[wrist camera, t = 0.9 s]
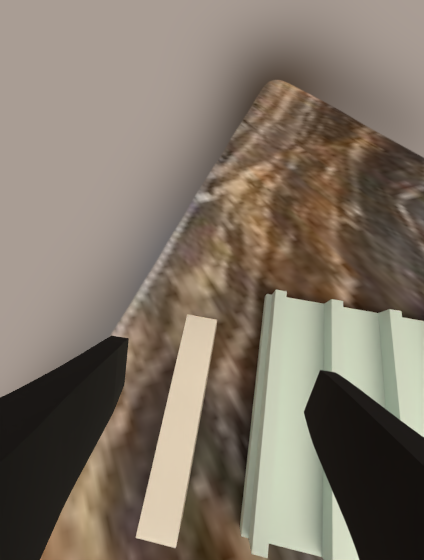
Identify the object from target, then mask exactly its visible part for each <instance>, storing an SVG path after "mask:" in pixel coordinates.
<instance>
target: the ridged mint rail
mask: <svg viewBox="0 0 424 560" xmlns="http://www.w3.org/2000/svg"><path fill="white" fill-rule="evenodd" d="M286 296H287V291H281V290H275V291H274V293H273V294H272V295H271V294H266V296H265V299H264V309H263V318H262V327H261V336H260V345H259V355H258V364H257V373H256V382H255V392H254V401H253V410H252V419H251V428H250V438H249V447H248V456H247V465H246V474H245V484H244V493H243V502H242V511H241V520H240V532H241V536H242V537H246V538H248V539H249V543H250V548H251V553H252V554H254V555H257V556H261V557H265V558H268V546H269V544H273V545H277V546H281V547H285V548H289V549H293V550H297V551H300V552H304V553H308V554H312V555H316V556H320V557H322V558H323V559H324V560H359V558H358V555H357V552H356V549H355V546H354V543H353V540H352V538H351V535H350V533H349V530H348V527H347V525H346V522H345V520H344V517H343V515H342V513H341V510H340V508H339V506H338V503H337V501H336V498H335V496H334V494H333V491H332V489H331V487H330V484H329V482H328V479H327V477H326V475H325V472H324V470H323V467H322V465H321V463H320V460H319V458H318V455H317V453H316V450H315V448H314V445H313V443H312V440H311V437H310V433H309V430H308V427H307V423H306V419H305V415H304V410H305V407H306V405H307V402H308V399H309V397H310V394H311V392H312V389H313V387H314V384H315V382H316V379H317V377H318V374H319V371H320V370H324V371H330V372H336V373H337V374H339V375H341V376H342V377H344V378H345V379H346V380H348V381H349V382H351V383H352V384H353V385H355V386H356V387H357V388H359V389H360V390H361V391H363V392H364V393H365V394H367V395H368V396H369V397H371V398H372V399H373V400H375V401H376V402H377V403H378V404H380V405H381V406H382V407H384V408H385V409H386V410H388V411H389V412H390V413H392V414H393V415H394V416H396V417H397V418H398V419H400V420H401V421H402V422H404V423H405V424H406V425H408V426H409V427H410V428H412V429H413V430H414V431H416V432H417V433H418V434H420V435H421V436H423V437H424V321H421V320H415V319H409V318H403V317H402V312H401V311H398V310H392V309H388V310H386V311H383V312H380V313H375V312H369V311H363V310H357V309H352V308H346V307H343V301H340V300H334V299H331V300H329V301H328V302H326V303H325V304H323V303H317V302H311V301H306V300H300V299H294V298H288V297H286Z"/></svg>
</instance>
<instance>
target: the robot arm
mask: <svg viewBox="0 0 424 560" xmlns="http://www.w3.org/2000/svg"><path fill="white" fill-rule="evenodd" d="M128 340H129V339H128V338H122V337H116V336H110V337H109V338H107V339H105V340H104V341H102V342H100V343H99V344H97V345H95V346H94V347H92V348H90V349H89V350H87V351H85V352H84V353H82V354H81V355H79V356H77V357H75V358H74V359H72V360H70V361H69V362H67V363H65V364H64V365H62V366H60V367H58V368H56V369H55V370H53V371H51V372H49V373H47V374H45V375H43V376H42V377H40V378H38V379H36V380H34V381H32V382H30V383H29V384H27V385H25V386H23V387H21V388H19V389H17V390H15V391H13V392H11V393H9V394H7V395H5V396H3V397H1V398H0V560H40V558H41V556H42V554H43V551H44V549H45V547H46V545H47V542H48V540H49V538H50V536H51V533H52V531H53V529H54V527H55V524H56V522H57V520H58V518H59V515H60V513H61V511H62V509H63V507H64V505H65V503H66V501H67V499H68V497H69V495H70V493H71V491H72V489H73V487H74V485H75V483H76V481H77V479H78V477H79V476H80V474H81V472H82V470H83V468H84V466H85V464H86V463H87V461H88V459H89V457H90V455H91V453H92V451H93V449H94V448H95V446H96V444H97V442H98V440H99V438H100V436H101V435H102V433H103V431H104V429H105V427H106V425H107V423H108V421H109V419H110V417H111V416H112V414H113V411H114V409H115V407H116V404H117V402H118V399H119V397H120V394H121V392H122V389H123V387H124V382H125V371H126V361H127V350H128ZM304 415H305V419H306V423H307V427H308V430H309V433H310V437H311V440H312V443H313V445H314V448H315V450H316V453H317V455H318V458H319V460H320V463H321V465H322V467H323V470H324V472H325V475H326V477H327V479H328V482H329V484H330V487H331V489H332V491H333V494H334V496H335V498H336V501H337V503H338V506H339V508H340V510H341V513H342V515H343V517H344V520H345V522H346V525H347V527H348V530H349V533H350V535H351V538H352V540H353V543H354V546H355V549H356V552H357V555H358V558H359V560H424V437H423V436H421V435H420V434H418V433H417V432H416V431H414V430H413V429H412V428H410V427H409V426H408V425H406V424H405V423H404V422H402V421H401V420H400V419H398V418H397V417H396V416H394V415H393V414H392V413H390V412H389V411H388V410H386V409H385V408H384V407H382V406H381V405H380V404H378V403H377V402H376V401H375V400H373V399H372V398H371V397H369V396H368V395H367V394H365V393H364V392H363V391H361V390H360V389H359V388H357V387H356V386H355V385H353V384H352V383H351V382H349V381H348V380H346V379H345V378H344V377H342V376H341V375H339V374H337V373H336V372H330V371H324V370H320V371H319V374H318V377H317V379H316V382H315V384H314V387H313V389H312V392H311V394H310V397H309V399H308V402H307V405H306V407H305V410H304Z"/></svg>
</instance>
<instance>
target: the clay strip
mask: <svg viewBox="0 0 424 560" xmlns="http://www.w3.org/2000/svg"><path fill="white" fill-rule="evenodd" d="M216 328H217V320H216V319H210V318H205V317H199V316H194V315H188V314H187V317H186V322H185V326H184V330H183V335H182V339H181V343H180V348H179V352H178V356H177V361H176V365H175V369H174V374H173V378H172V383H171V387H170V391H169V396H168V400H167V404H166V409H165V413H164V417H163V422H162V426H161V430H160V435H159V439H158V443H157V448H156V452H155V456H154V461H153V465H152V469H151V474H150V478H149V482H148V487H147V491H146V495H145V500H144V504H143V508H142V513H141V517H140V521H139V526H138V530H137V534H136V538H139V539H143V540H147V541H150V542H154V543H158V544H162V545H166V546H169V547H173V548H176V545H177V540H178V536H179V531H180V527H181V522H182V518H183V513H184V507H185V502H186V496H187V491H188V485H189V479H190V474H191V468H192V463H193V457H194V451H195V446H196V440H197V435H198V429H199V423H200V418H201V412H202V407H203V401H204V395H205V390H206V384H207V379H208V373H209V367H210V362H211V356H212V351H213V345H214V339H215V334H216Z"/></svg>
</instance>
